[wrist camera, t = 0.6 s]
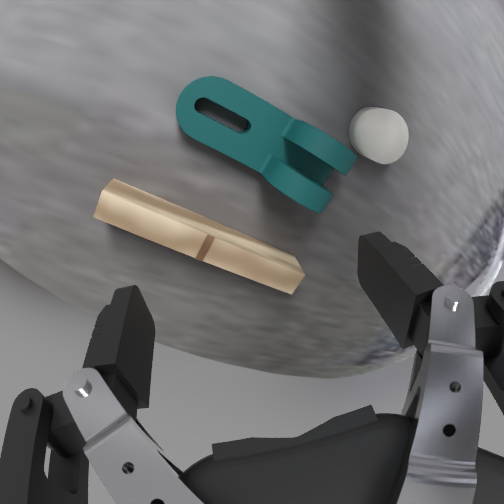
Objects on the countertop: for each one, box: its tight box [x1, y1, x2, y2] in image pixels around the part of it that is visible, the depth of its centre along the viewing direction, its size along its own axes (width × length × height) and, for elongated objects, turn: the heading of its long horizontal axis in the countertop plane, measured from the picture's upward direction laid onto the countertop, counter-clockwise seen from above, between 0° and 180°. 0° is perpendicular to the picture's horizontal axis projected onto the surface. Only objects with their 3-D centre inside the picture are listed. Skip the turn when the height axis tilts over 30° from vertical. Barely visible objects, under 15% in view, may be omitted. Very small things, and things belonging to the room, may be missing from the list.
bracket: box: [176, 76, 358, 213], centre depth 28 cm, size 18×7×8 cm, turn 60°
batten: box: [94, 178, 305, 294], centre depth 34 cm, size 3×24×5 cm, turn 61°
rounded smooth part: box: [349, 107, 409, 164], centre depth 32 cm, size 6×6×4 cm
